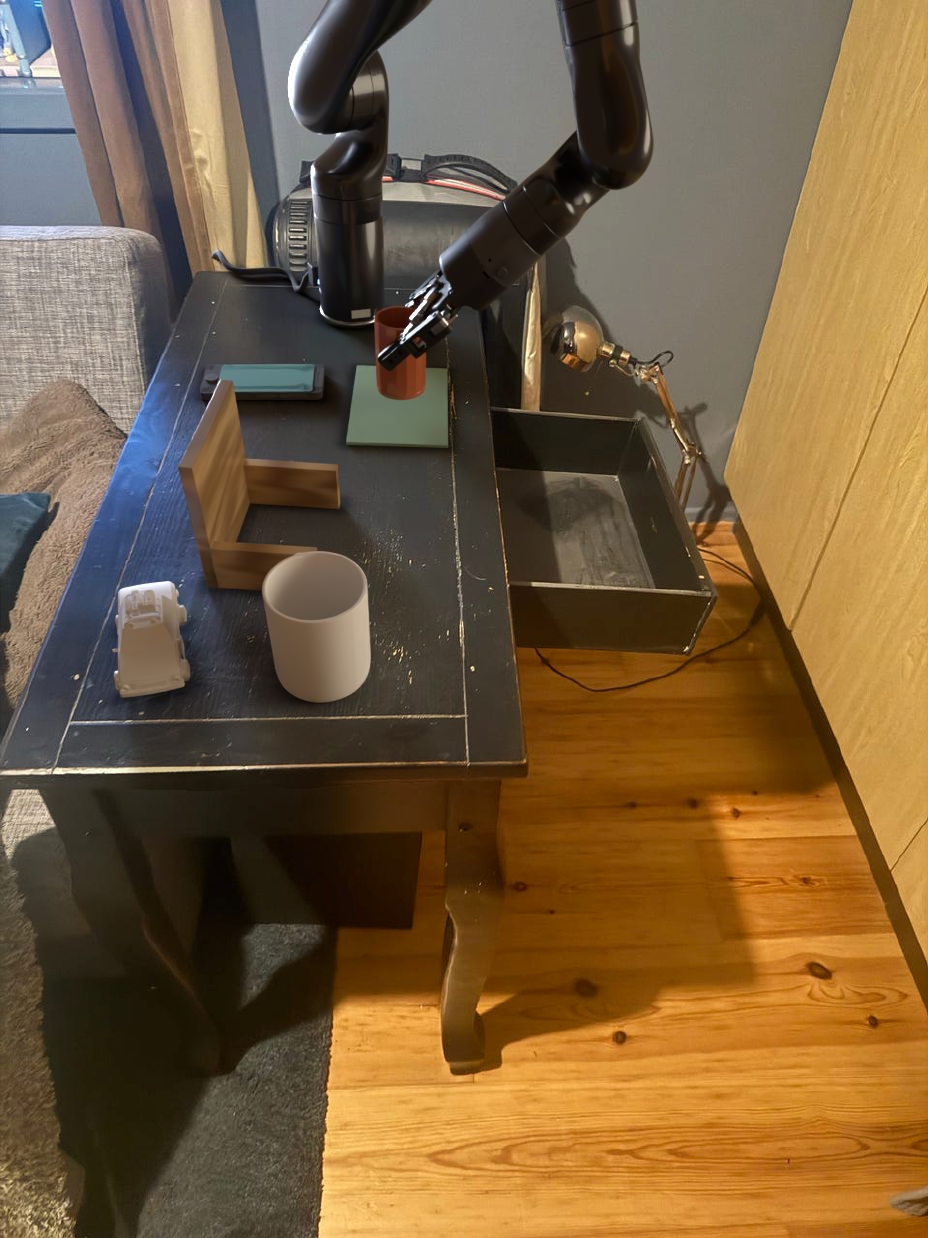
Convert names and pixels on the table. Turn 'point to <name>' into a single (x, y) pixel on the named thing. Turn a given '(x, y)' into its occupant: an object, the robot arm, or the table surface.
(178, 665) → the toy car
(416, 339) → the cup
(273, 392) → the smartphone
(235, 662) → the table surface
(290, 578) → the mug
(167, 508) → the table surface
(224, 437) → the cubby
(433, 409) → the mat
